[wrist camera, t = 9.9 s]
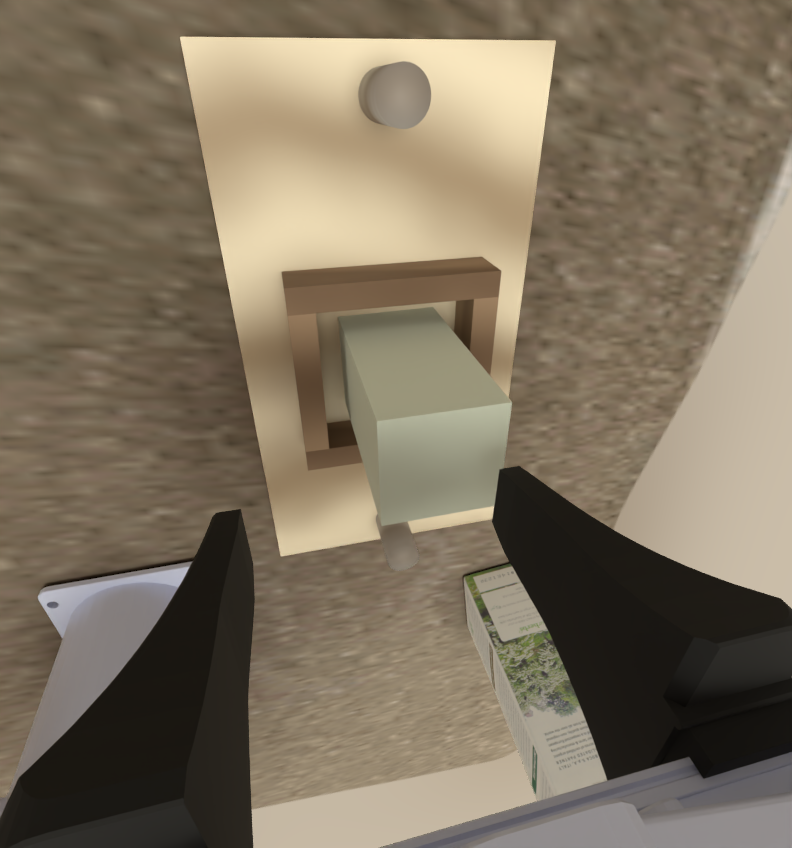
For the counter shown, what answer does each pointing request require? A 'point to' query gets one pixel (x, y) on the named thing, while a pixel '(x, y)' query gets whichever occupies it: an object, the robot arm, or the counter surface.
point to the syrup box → (530, 684)
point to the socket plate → (363, 233)
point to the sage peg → (422, 415)
